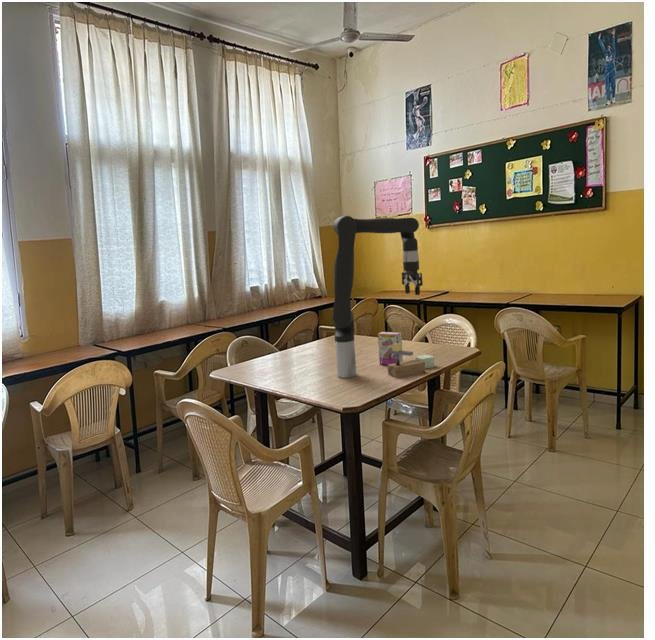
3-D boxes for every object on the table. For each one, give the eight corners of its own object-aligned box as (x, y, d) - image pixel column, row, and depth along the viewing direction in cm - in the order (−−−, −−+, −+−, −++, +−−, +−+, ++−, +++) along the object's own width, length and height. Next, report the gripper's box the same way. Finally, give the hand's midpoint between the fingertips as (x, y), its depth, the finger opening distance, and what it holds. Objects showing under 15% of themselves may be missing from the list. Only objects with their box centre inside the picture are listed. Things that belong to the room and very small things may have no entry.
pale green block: (415, 366, 251) (415, 356, 250) (427, 364, 253) (427, 354, 252) (422, 369, 245) (421, 359, 244) (434, 366, 248) (434, 356, 247)
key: (393, 363, 239) (392, 342, 238) (413, 365, 232) (412, 344, 230) (391, 364, 238) (389, 343, 236) (411, 366, 230) (410, 345, 229)
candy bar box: (379, 365, 259) (377, 333, 256) (383, 362, 263) (381, 331, 260) (399, 366, 252) (397, 334, 250) (403, 364, 256) (401, 332, 254)
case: (388, 374, 239) (387, 364, 238) (416, 369, 245) (416, 359, 245) (395, 378, 233) (395, 367, 232) (425, 372, 239) (424, 361, 238)
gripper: (396, 261, 246) (398, 294, 249) (412, 261, 233) (414, 296, 236) (409, 259, 249) (411, 292, 251) (426, 259, 236) (427, 294, 239)
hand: (412, 294), depth 244 cm, fingers open, 8 cm apart
